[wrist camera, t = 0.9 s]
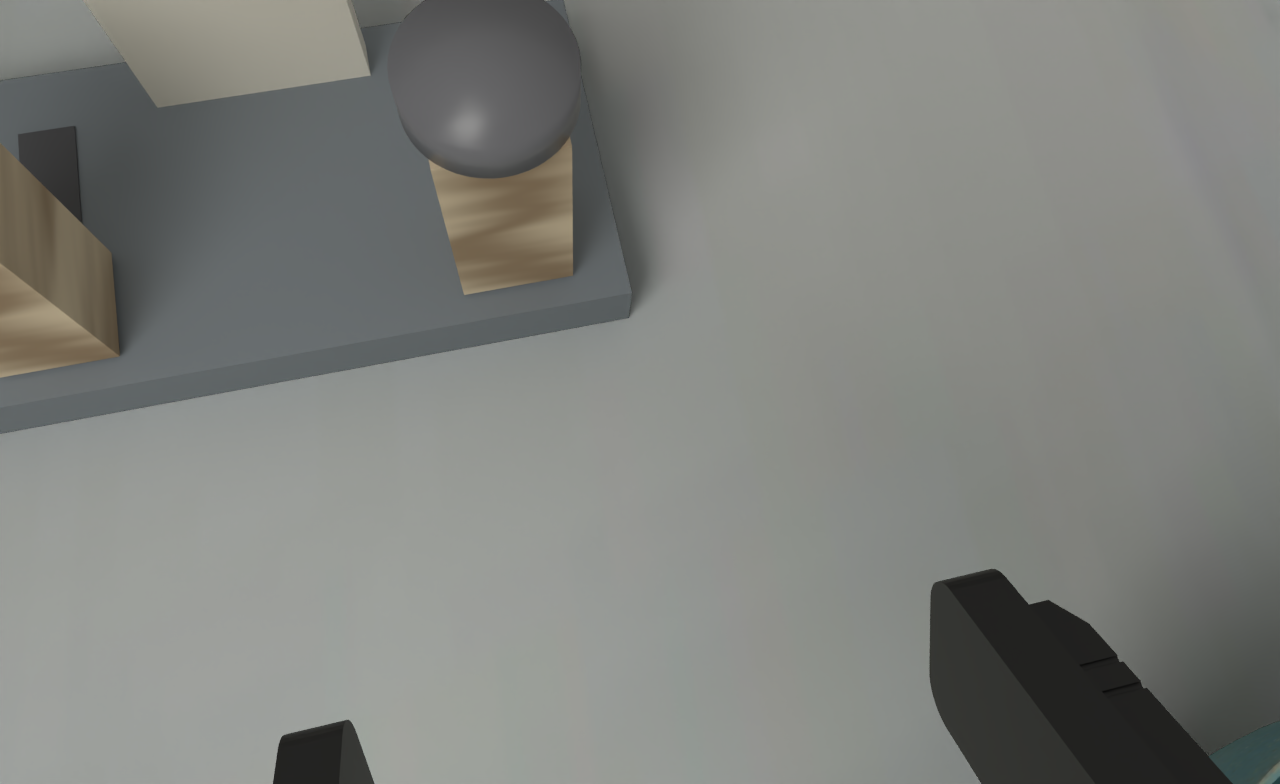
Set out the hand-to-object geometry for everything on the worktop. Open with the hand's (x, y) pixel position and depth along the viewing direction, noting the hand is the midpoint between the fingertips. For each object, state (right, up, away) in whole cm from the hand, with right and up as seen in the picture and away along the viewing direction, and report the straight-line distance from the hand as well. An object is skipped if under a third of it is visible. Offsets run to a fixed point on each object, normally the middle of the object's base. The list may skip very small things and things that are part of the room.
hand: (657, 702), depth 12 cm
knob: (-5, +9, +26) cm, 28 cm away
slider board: (-14, +10, +28) cm, 33 cm away
